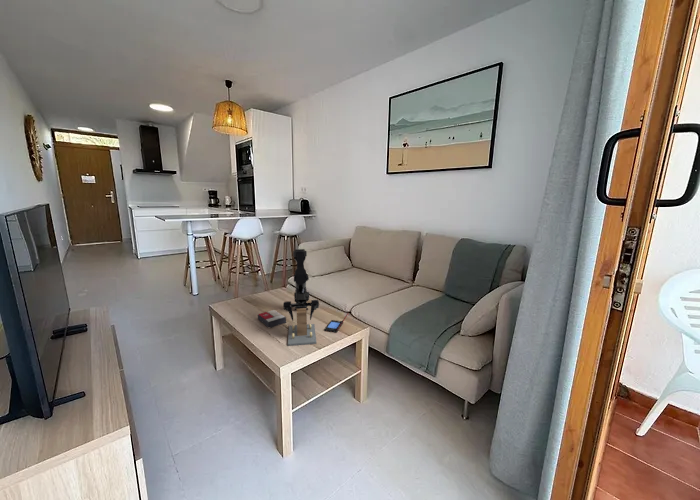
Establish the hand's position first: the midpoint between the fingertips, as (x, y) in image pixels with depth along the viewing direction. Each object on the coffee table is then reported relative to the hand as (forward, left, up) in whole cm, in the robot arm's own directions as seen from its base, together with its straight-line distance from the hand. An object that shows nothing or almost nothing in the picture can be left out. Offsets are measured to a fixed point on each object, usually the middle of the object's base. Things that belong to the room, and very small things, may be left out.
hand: (301, 320), depth 152 cm
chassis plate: (0, 0, -8) cm, 8 cm away
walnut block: (0, 0, -7) cm, 7 cm away
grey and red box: (+3, -26, -9) cm, 28 cm away
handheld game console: (-19, +6, -9) cm, 22 cm away
